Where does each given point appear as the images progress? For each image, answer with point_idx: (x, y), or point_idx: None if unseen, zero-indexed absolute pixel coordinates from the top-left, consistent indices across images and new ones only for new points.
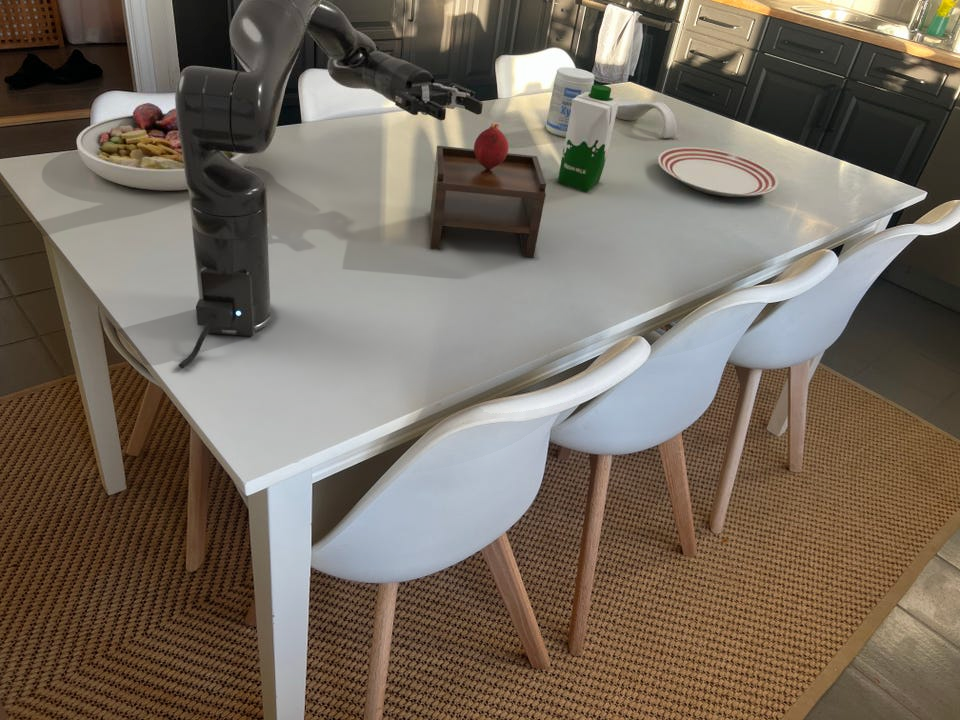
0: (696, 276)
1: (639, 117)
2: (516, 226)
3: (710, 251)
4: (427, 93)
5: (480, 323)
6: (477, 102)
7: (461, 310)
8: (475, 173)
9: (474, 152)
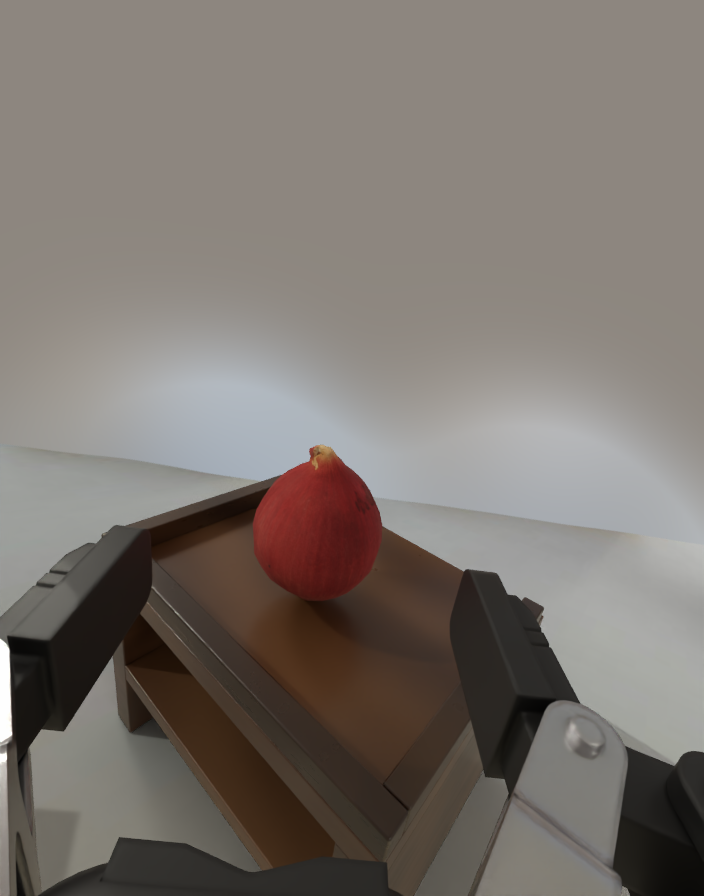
0: (141, 474)
1: None
2: None
3: (22, 478)
4: (538, 815)
5: (507, 562)
6: (136, 542)
7: (521, 588)
8: (377, 597)
9: (366, 573)
